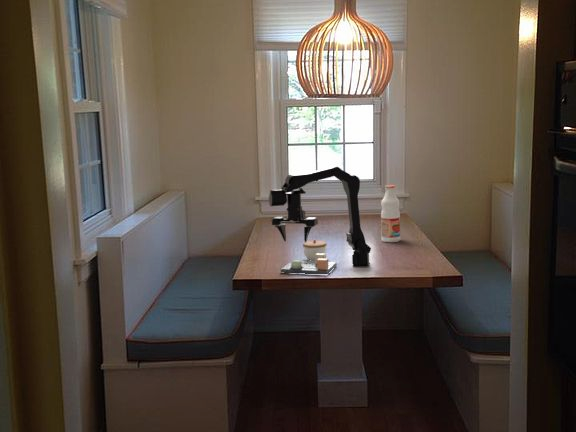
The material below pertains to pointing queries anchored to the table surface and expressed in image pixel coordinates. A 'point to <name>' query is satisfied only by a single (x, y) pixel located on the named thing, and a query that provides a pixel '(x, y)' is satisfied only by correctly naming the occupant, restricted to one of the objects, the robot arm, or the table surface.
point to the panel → (309, 268)
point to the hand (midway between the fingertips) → (295, 241)
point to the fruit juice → (390, 216)
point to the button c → (296, 264)
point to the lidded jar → (313, 248)
